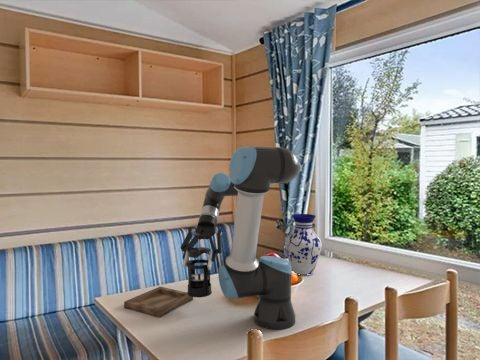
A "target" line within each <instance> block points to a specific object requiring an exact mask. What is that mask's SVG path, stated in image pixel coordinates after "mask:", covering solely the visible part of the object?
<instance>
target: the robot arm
mask: <svg viewBox="0 0 480 360" xmlns="http://www.w3.org/2000/svg"><path fill="white" fill-rule="evenodd" d="M228 166H229V167H228V172H229V174H226V173H223V172H218V173H215V174H214V175H213V177H212V178H211V180H210V183H209V186H208V188H207V189H206V192H205V193H204V199H203V200H204V201H203V204H202V207H201V211H200V214H199V218H198V221H197V226H196V227H195V228H191V227H189V228H188V230H187V231H188V232H187V234H186V236H185V238H184V240H183V241H182V243H181V245H180V247H179V248H180V250H181V252H183V254H182V259H183V263H182V266H183V268H184V269H185V270H186V269H188V267H187V263H188V260H190V257H189V256H188V252H187V250H188V249H190V248H195V245H197V244H198V237H197V236H193V235H194V234H198V233H201V234H204V236H200V239H199V242H200V241H201V240H207V241H209V243H210V246H211V249H212V250H211V251H210V255H208V260H209V261H208V265H207V264H206V265H207V267H208V270H210V271H211V269H212V266H213V262H216V257H217V255H218V254H222V253H223V252H222V251H223V249H222V246H223V245H222V236H223V232H222V231H223V230H222V229H221V228H220V229H217V224H218V219H219V215H220V210H221V206H222V204H223V201H224V199H225V197H236V196H237V197H236V204H235V205H236V207H235V215H234V222H233V223H234V224H233V233H232V241H231V249H230V254H229V255H228V256H226V258H225V263H224V264H222V265H220V266H219V267H218V271H217V272H218V281H219V287H220V289H221V292H222V295H223V296H224V297H225V298H226V299H228V300H234V299H236V300H238V299H242V298H243V299H244V298H249V297H250V298H251V297H258V300H257V304H256V307H255V309H254V312H253V313H254V314H253V320H254V321H253V322H254V323H255V324H256V325H258V326H259V327H262V328H265V329H269V330H270V329H271V330H284V329H288V328H291V327H293V326H294V325H295V324H296V313H295V310H294V306H293V304H292V297H291V296H292V274H293V273H292V269H291V264H290V262H289V260H288V259H285V258H283V257H280V256H279V257H278V256H272V255H261V256H260V257H259V259H257V258H256V255H257V248H258V241H259V235H260V227H261V219H262V214H263V212H262V211H263V205H264V199H265V195H266V194H267V193H269V192H270V188H271V187H272V186H275V185H277V184H279V185H284V184H287V183H289V182H291V181H293V180H294V179H296V178H297V176H298V174H299V172H300V160H299V159H298V157H297V155H296V154H295V153H294V152H293V151H292V150H290V149H288V148H286V147H285V148H284V147H279V146H278V147H276V146H275V147H272V146H271V147H270V146H267V147H266V146H253V145H251V146H241V147H239V148H238V147H237V148H236V150H235V151H234V152H233V153H232V156H231V158H230V161H229V165H228ZM215 234H216V239H217V240H216V241H217V242H216V243H217V248H216V246H215V242H214V240H213V236H214V235H215Z"/></svg>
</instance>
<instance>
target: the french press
mask: <svg viewBox="0 0 480 360" xmlns="http://www.w3.org/2000/svg"><path fill="white" fill-rule="evenodd" d="M195 236H197V237H198V242H197V244H198V246H197V247H193V248H190V249H188V250H187V252H188V256H189V258H193V259H189V260H188V263H187V270H188V272H187V273H188V275H187V276H188V277H187V279H188V281H187V282H188V284H187V295H188V296H191V297H193V298H205V297H206V298H207V297H209V296H210V295H212V294H213V292H212V283H211V270H208V267H207V265H208V261H209V259H203V258H201V257H200V256H201V255H203V254H207V255H208V256H210V252H211V251H212V250H211V249H212V248H209V247H203V246H200V241H199V239H200V236H204V234H201V233H198V234H196V233H194V235H192V237H195ZM200 240H201V239H200ZM197 258H198V259H197ZM200 258H201V259H200ZM196 264H198V265H196ZM201 264H202V265H201ZM196 270H198V273H196ZM200 270H203V273H200V272H201V271H200Z"/></svg>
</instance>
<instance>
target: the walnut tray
mask: <svg viewBox="0 0 480 360" xmlns="http://www.w3.org/2000/svg"><path fill="white" fill-rule="evenodd" d="M187 292H188V291H187ZM187 292H186V291H182V290H178V289H172V288H168V287H163V286H158V287H156V288H153V289H150V290H148V291H146V292H143V293H141V294H139V295H137V296H135V297H132V298H129V299H127V300H125V301H123V308H124V309H127V310H130V311H134V312H138V313H140V314H141V313H142V314H145V315H148V316H153V317H156V318H161V317H163V316H165V315H167V314H169V313H170V312H173V311H174V310H177V309H179V308H180V307H181V306H184V305H186V304H188V303H190V302H192V301H193V300H194V297H191V296H188V295H187Z"/></svg>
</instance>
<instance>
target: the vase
mask: <svg viewBox="0 0 480 360" xmlns="http://www.w3.org/2000/svg"><path fill="white" fill-rule="evenodd" d="M292 218H293V220H294V225H295V226H294V229H293V230H292V231H291V233H289V235H287V237H286V238H285V242H284V246H285V247H284V248H285V253H286V257H287V260H288V261H289V262H290V264H291V272H292V271H294V272H295V273H297V274H300V275H299V276H301V275H307V274H312V273H313V272H314V273H315V270H316V266H317V264H318V260H319V259H320V255H321V252H322V248H323V244H322V240H321V238H320V237H319V236H318V234H317V233H316V232H315V231H314V228H313V222H314V220H315V219H316V215H315V214H310V213H294V214H292ZM314 273H313V274H314ZM313 274H312V275H313Z"/></svg>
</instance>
